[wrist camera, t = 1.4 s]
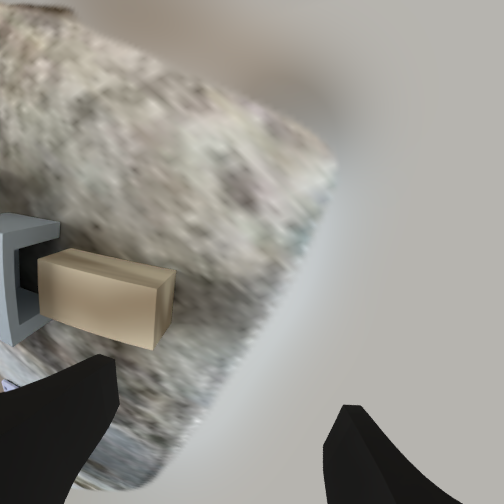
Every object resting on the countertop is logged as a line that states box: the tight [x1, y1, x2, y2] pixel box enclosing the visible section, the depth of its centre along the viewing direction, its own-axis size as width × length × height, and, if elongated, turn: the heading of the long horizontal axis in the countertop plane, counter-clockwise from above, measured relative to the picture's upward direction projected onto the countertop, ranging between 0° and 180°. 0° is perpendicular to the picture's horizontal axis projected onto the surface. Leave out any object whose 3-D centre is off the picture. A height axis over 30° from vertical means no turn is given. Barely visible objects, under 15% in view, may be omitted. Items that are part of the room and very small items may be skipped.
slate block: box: [0, 213, 60, 347], centre depth 15 cm, size 7×6×6 cm
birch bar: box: [38, 248, 176, 350], centre depth 17 cm, size 4×8×4 cm, turn 80°
